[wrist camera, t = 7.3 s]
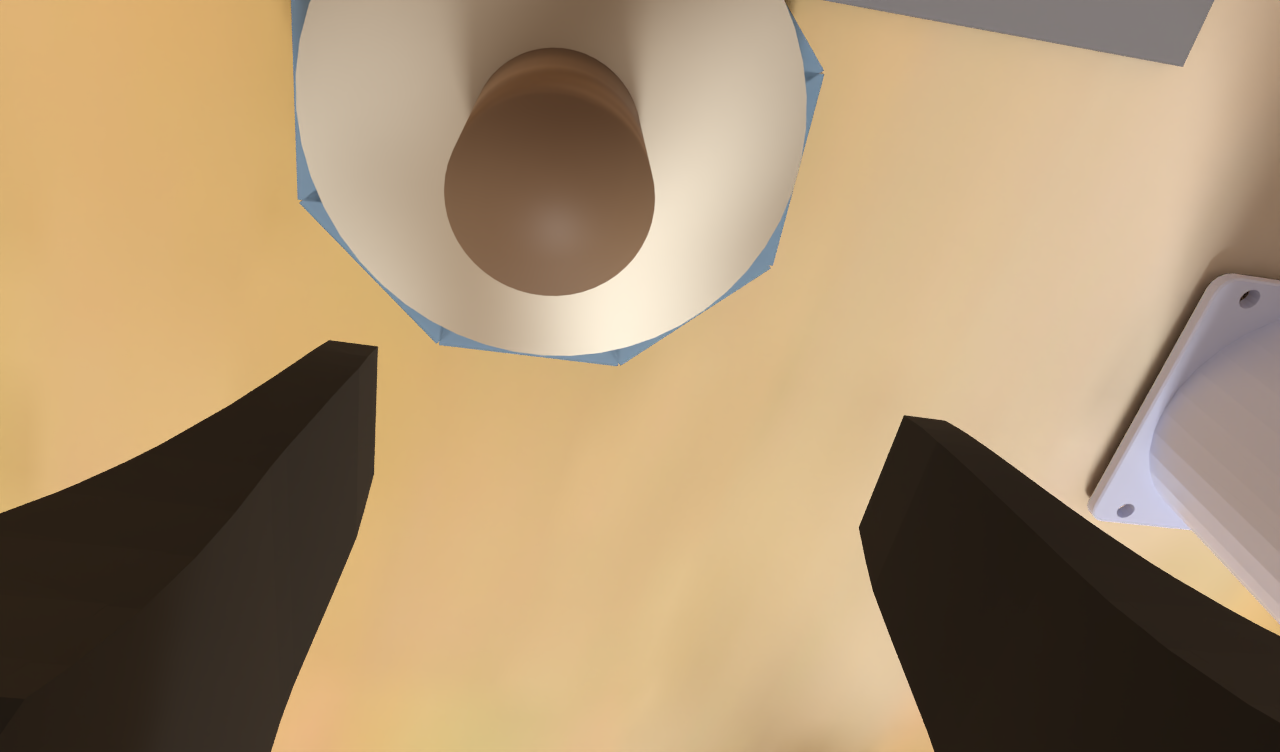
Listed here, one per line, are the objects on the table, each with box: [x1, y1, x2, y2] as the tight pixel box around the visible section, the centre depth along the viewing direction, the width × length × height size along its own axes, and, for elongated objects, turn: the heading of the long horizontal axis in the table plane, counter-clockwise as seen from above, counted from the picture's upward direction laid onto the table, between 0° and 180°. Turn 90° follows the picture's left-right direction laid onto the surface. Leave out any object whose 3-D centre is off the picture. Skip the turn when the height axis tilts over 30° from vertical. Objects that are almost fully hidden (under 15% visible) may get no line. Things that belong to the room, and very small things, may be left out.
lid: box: [296, 0, 807, 356], centre depth 14 cm, size 9×9×4 cm
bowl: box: [291, 0, 824, 366], centre depth 17 cm, size 10×10×3 cm
